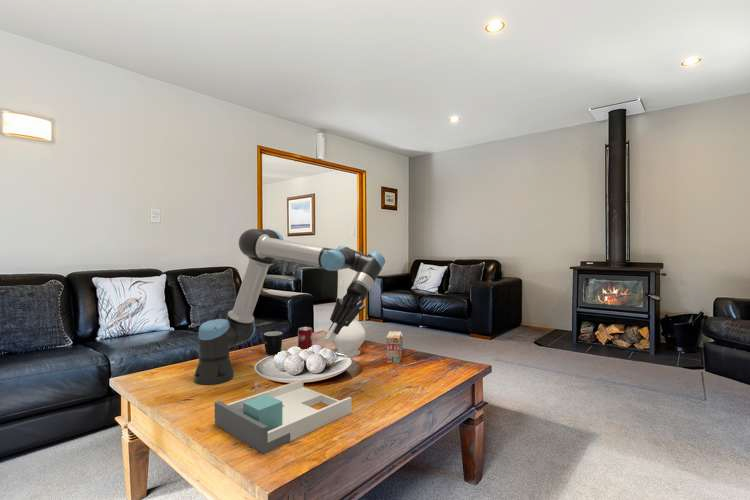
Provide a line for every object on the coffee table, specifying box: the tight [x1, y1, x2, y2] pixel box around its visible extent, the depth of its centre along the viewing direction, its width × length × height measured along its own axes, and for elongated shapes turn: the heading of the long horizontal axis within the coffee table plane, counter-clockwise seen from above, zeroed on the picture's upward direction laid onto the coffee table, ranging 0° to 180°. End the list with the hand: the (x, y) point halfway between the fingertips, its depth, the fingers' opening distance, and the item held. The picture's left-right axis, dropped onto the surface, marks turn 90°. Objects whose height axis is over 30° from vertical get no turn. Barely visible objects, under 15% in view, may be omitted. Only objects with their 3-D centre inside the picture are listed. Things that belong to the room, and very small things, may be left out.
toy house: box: [385, 330, 404, 364], centre depth 195 cm, size 21×6×12 cm, turn 172°
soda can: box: [297, 326, 313, 349], centre depth 203 cm, size 7×7×12 cm
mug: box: [263, 331, 283, 356], centre depth 199 cm, size 12×9×10 cm
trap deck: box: [214, 379, 353, 455], centre depth 127 cm, size 34×26×7 cm
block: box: [243, 395, 283, 431], centre depth 117 cm, size 8×8×7 cm
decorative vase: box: [331, 317, 366, 357], centre depth 201 cm, size 18×18×25 cm
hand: (328, 340), depth 138 cm, fingers closed
